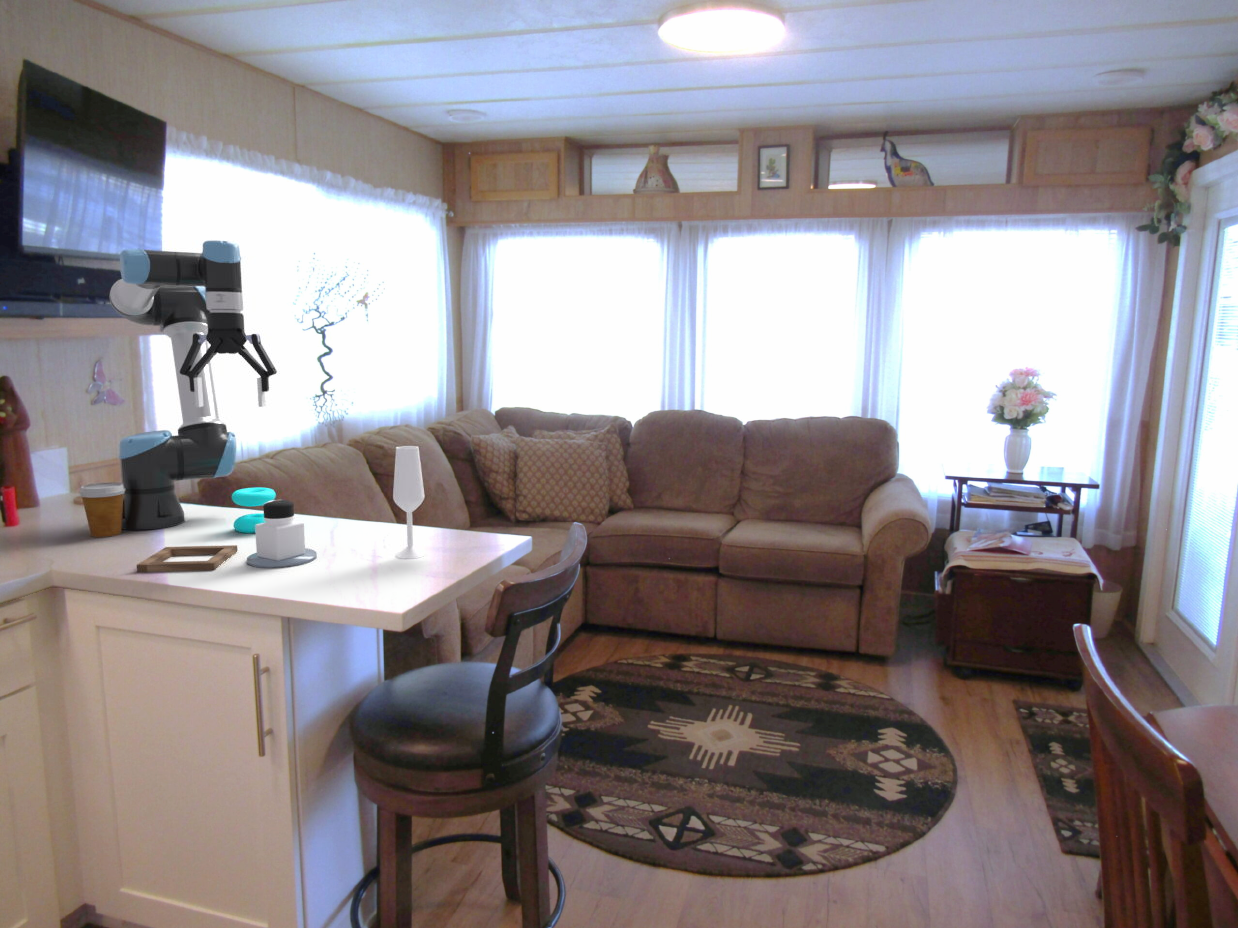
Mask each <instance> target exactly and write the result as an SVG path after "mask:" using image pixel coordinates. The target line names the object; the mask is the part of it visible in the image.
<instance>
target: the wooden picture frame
mask: <svg viewBox="0 0 1238 928" xmlns="http://www.w3.org/2000/svg"><path fill="white" fill-rule="evenodd" d="M237 551H238V545H237V544H231V545H230V544H229V545H200V546H199V545H193V546H192V545H191V546H190V545H189V546H165V547H164V548H162V549H160V550H158V551H157V552H155V553H153V554H152V555H151V556H149V557H147V558H146V559H144V560H142V561H141V562H139V563H138V564H136V566H135V567H136V572H137V573H155V572H157V573H158V572H189V571H190V572H191V571H192V572H195V571H200V572H201V571H215V570H216V568H217V567H218V566H219V565H220V566H221V564H222V563H223V562H224V561H225V562H227V561H228V560H229V559H230V558H232V557H233V556H234V555H235V554H237V553H238V552H237ZM236 552H237V553H236ZM199 554H216V555H213V556H211V557H210V558H209V559H208V560H187V561H186V560H185V561H182V560H181V561H166V560H169V559H170V558H171V557H172V556H175V557H176V556H200V555H199ZM232 555H233V556H232ZM231 556H232V557H231ZM228 558H229V559H228ZM227 559H228V560H227ZM226 560H227V561H226ZM225 562H224V563H225ZM224 563H223V564H224ZM223 564H222V565H223ZM220 566H219V567H220ZM219 567H218V568H219ZM218 568H217V569H218Z"/></svg>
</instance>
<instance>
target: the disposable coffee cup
mask: <svg viewBox="0 0 1238 928" xmlns="http://www.w3.org/2000/svg"><path fill="white" fill-rule="evenodd" d="M125 490H126V489H125V488H124V487H123V484H122V482H109V481H108V482H96V483H95V482H94V483H90V484H84V485H82V486H80V490H79V492H78V493H79V495H80V497H81V499H82V503H83V506H84V507H83V508H84V511H85V515H86V520H87V523H88V527H89V533H90V536H91V537H94V538H106V537H107V538H108V537H114V536H118V535H120V534H122V530H123V529H122V512H123V495H124V493H125Z"/></svg>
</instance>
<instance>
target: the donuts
mask: <svg viewBox="0 0 1238 928" xmlns="http://www.w3.org/2000/svg"><path fill="white" fill-rule="evenodd" d="M276 497H277V494H276V492H275V490H274V489H272V488H268V487H247V488H241V489H237V490H235V491H234V492H233V493H232V494H231V500H232V501H233V503H234V504H236V505H237V506H242V507H260V506H263V505H264V504H265V503H266V502H268V501H272V500H276ZM265 522H266V521H264V512H263V513H261V512H260V513H259V512H258V513H247V514H244V515H240V516H239V517H237V518H236V519H235V520H234V522H233V529H234V530H235V531H237V532H239V533H242V534H243V533H244V534H256V533H255V525H256V524H260V523H265Z"/></svg>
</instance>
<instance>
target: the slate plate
mask: <svg viewBox="0 0 1238 928" xmlns="http://www.w3.org/2000/svg"><path fill="white" fill-rule="evenodd" d="M317 555H318V554H317V551H316V550H314V549H311V548H307V547H305V554H303V555H299V556H296V557H292V558H288V559H284V560H280V561H276V560H271V559H266V558H261V557H258V556H257V552H255V553H252V554H249V555H248V556H247V557H246V563H248V564H249V566H250V565H252V566H251V567H254V566H256V567H255V568H260V567H281V568H288V567H287V566H290V567H295V566H294V565H297V566H301V565H304V563H305V564H308V563H310V561H311V562H313V561H315V560H316V559H317ZM307 562H308V563H307ZM248 564H247V565H248ZM300 564H301V565H300Z"/></svg>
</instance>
